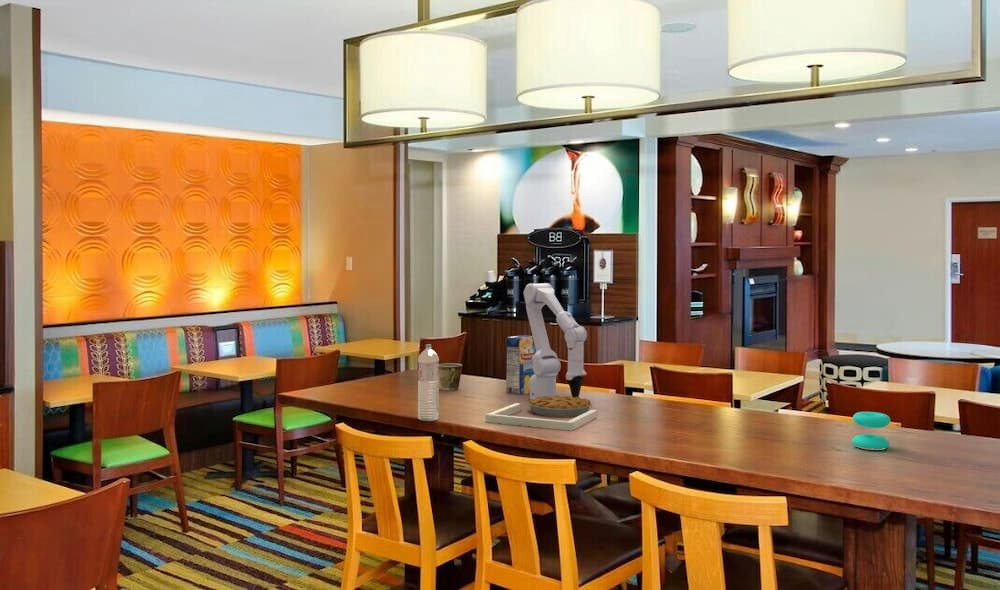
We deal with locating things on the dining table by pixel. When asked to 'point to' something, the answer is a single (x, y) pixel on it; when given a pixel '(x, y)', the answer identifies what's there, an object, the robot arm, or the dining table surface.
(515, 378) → the beverage box
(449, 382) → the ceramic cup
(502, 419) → the serving corral
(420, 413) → the water bottle
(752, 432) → the dining table surface
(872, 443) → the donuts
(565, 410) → the pie
